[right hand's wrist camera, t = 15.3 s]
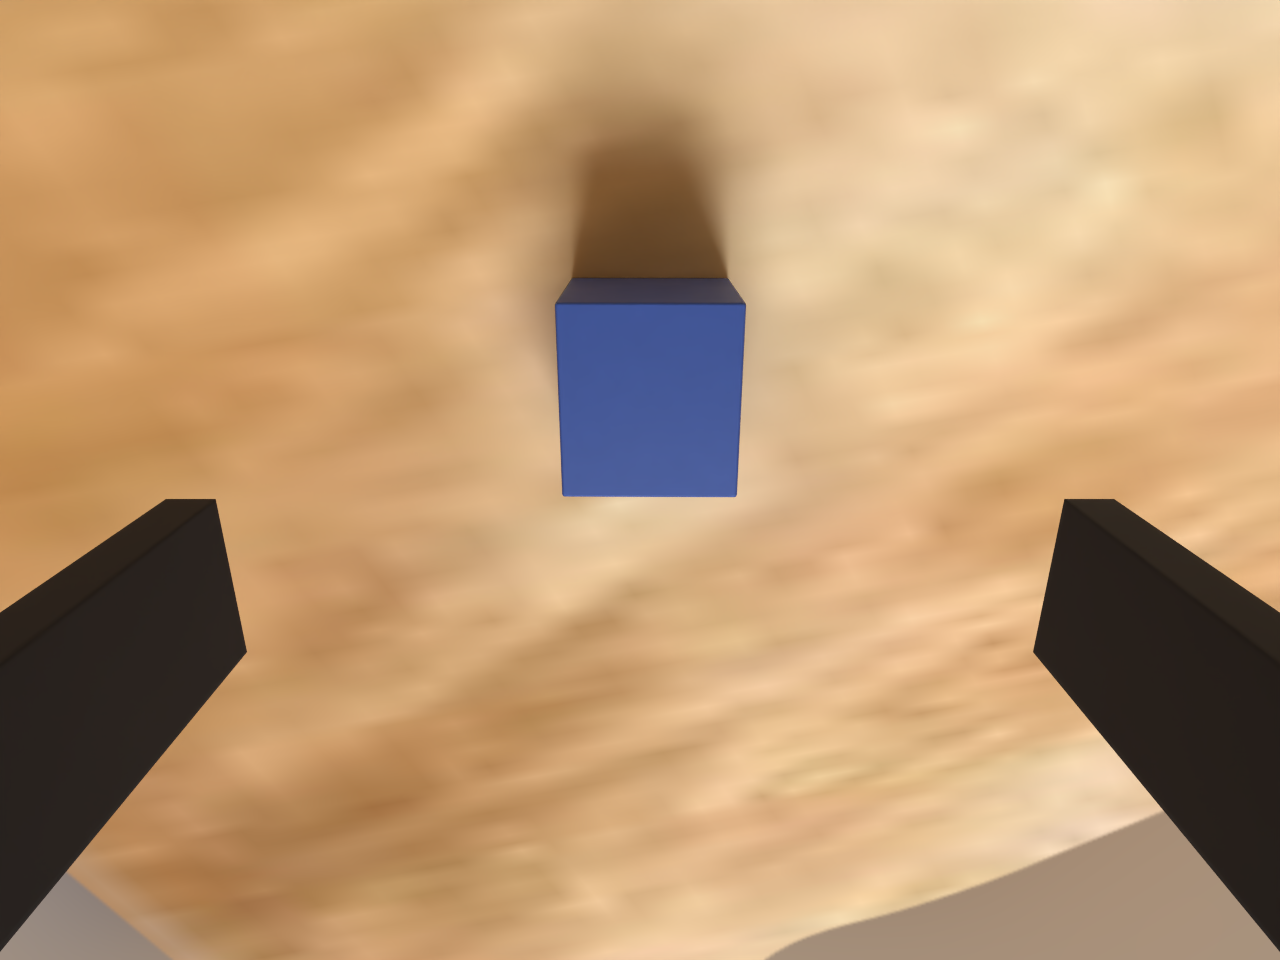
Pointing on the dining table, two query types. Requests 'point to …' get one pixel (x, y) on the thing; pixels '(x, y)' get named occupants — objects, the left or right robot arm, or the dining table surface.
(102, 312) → the dining table surface
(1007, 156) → the dining table surface
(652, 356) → the blue cube
